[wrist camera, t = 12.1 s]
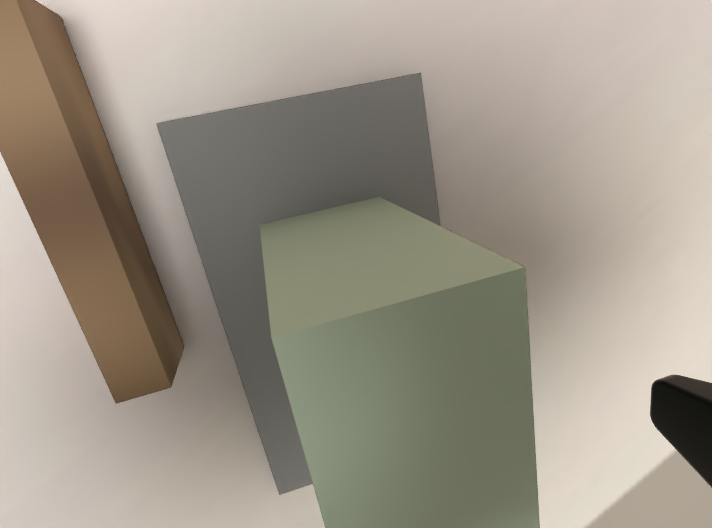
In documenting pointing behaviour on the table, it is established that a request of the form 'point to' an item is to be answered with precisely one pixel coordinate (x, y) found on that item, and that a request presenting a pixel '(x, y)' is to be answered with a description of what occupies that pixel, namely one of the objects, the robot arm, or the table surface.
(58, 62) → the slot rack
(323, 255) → the green block
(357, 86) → the floor mat
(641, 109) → the table surface
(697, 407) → the robot arm
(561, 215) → the table surface
